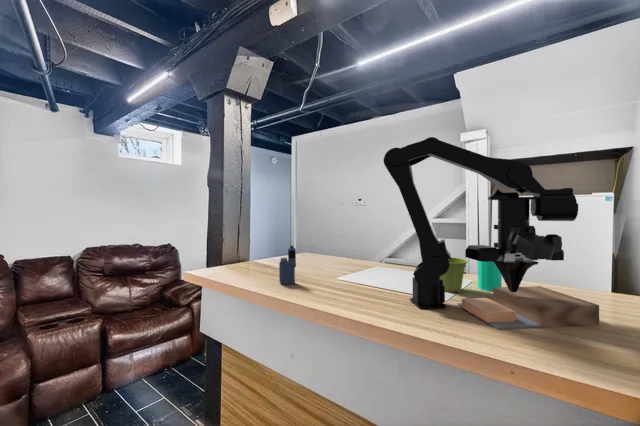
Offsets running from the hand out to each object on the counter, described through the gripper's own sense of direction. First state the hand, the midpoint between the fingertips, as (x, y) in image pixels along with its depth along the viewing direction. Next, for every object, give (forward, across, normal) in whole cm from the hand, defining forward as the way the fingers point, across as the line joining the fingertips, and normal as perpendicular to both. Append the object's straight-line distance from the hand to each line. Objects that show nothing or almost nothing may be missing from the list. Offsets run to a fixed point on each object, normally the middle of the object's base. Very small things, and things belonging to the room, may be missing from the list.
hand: (513, 291), depth 62 cm
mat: (+5, -4, 0) cm, 6 cm away
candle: (+5, +8, +20) cm, 22 cm away
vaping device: (+5, -51, +31) cm, 60 cm away
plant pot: (+5, -4, +20) cm, 21 cm away
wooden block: (+5, +6, 0) cm, 8 cm away
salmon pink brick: (+2, -6, 0) cm, 7 cm away
